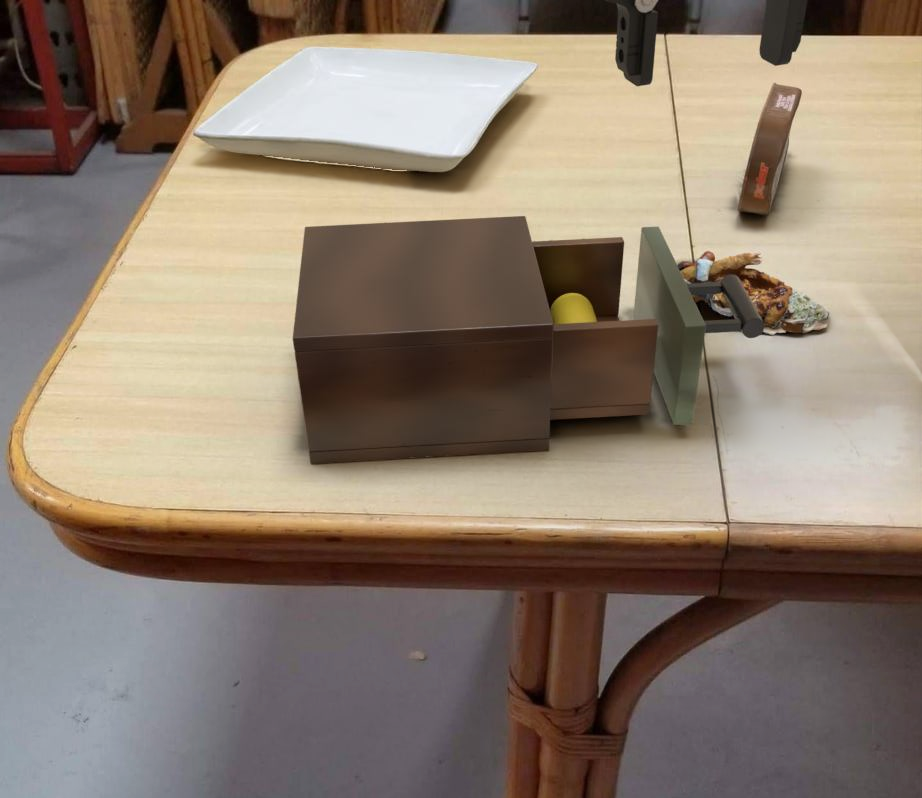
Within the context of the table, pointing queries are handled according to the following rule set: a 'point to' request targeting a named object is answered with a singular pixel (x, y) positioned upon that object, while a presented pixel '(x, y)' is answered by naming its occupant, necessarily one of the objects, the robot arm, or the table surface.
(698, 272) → the brown sculpted figurine
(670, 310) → the drawer
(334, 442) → the cabinet
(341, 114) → the square plate
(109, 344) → the table surface
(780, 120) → the brown snack box
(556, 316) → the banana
